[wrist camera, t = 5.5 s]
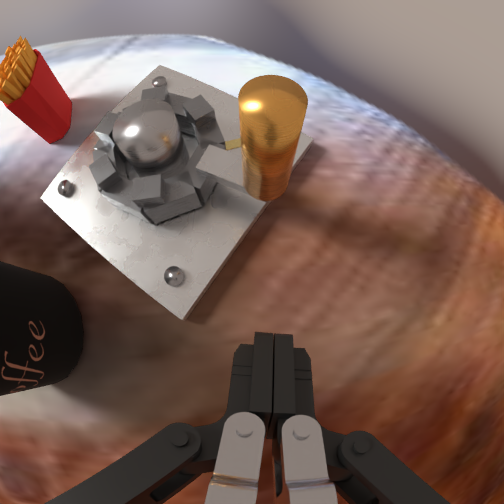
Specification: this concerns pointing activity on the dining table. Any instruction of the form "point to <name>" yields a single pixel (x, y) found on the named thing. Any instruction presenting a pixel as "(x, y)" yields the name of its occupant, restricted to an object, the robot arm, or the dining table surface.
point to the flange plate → (175, 233)
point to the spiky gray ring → (210, 151)
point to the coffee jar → (36, 330)
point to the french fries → (34, 92)
